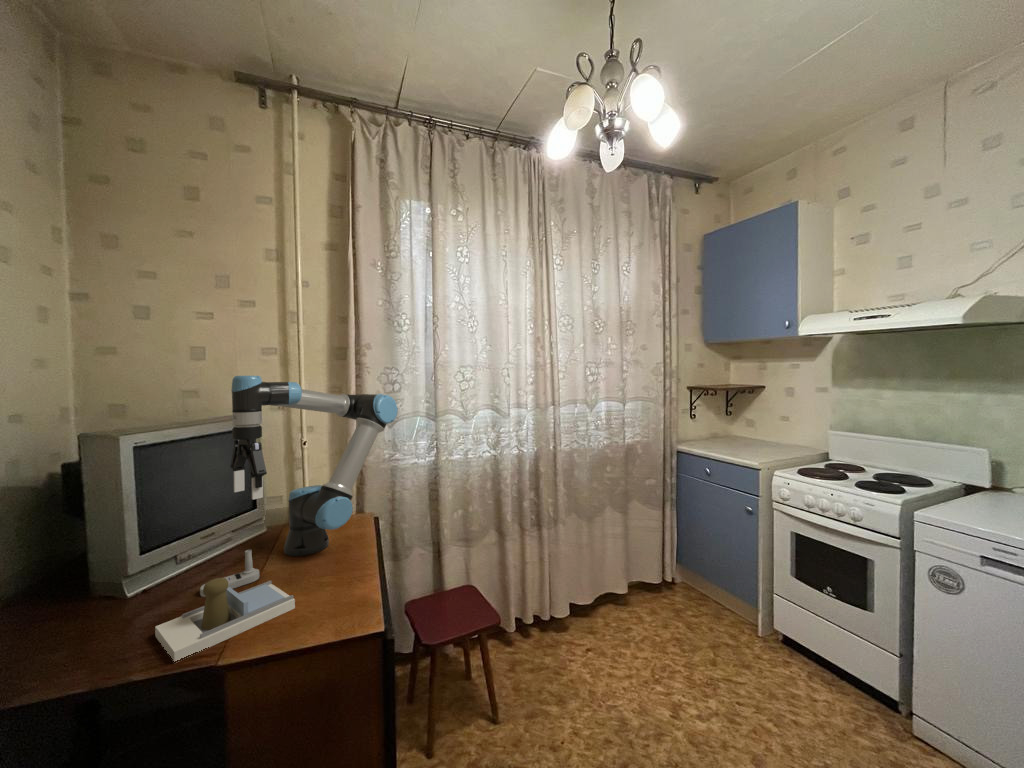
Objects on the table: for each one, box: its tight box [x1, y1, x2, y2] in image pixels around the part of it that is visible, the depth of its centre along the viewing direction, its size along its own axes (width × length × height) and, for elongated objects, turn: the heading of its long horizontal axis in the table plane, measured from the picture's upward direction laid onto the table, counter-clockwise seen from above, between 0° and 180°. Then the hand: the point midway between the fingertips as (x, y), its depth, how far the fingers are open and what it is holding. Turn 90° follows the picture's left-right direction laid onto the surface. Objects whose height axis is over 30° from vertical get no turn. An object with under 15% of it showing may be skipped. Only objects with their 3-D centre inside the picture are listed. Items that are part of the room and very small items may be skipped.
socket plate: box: [154, 580, 296, 663], centre depth 102 cm, size 26×16×3 cm, turn 144°
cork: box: [201, 577, 231, 630], centre depth 100 cm, size 6×6×11 cm
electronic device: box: [199, 549, 260, 598], centre depth 120 cm, size 5×10×15 cm
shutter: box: [226, 584, 285, 616], centre depth 107 cm, size 10×12×4 cm
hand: (248, 494), depth 119 cm, fingers open, 13 cm apart
